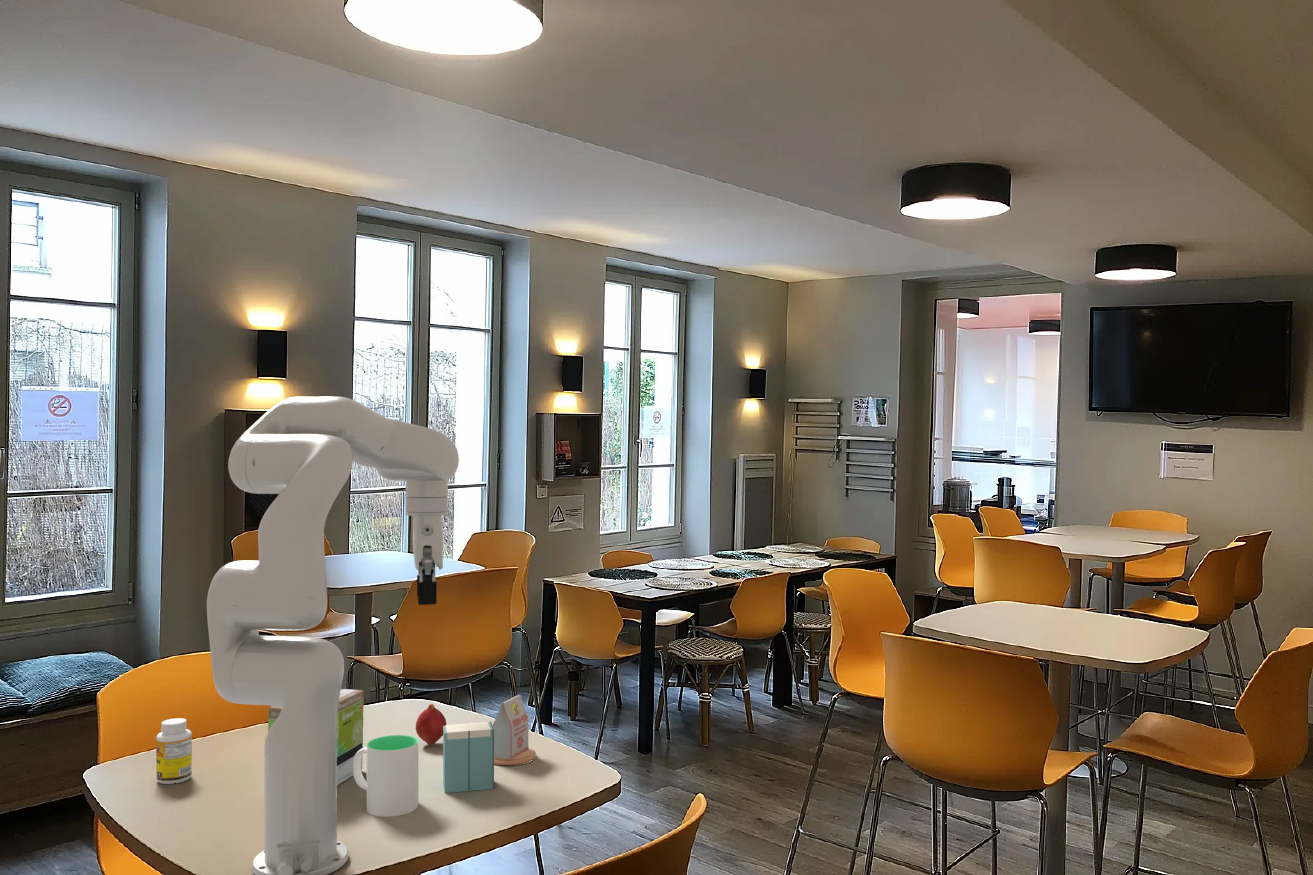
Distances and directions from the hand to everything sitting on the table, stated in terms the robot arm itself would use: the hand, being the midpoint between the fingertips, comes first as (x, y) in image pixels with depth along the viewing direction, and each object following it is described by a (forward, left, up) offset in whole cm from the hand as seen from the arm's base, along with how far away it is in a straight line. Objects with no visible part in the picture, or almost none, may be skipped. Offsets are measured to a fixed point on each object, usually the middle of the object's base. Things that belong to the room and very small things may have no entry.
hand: (426, 600), depth 182 cm
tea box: (-6, +19, -30) cm, 36 cm away
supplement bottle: (+2, +43, -30) cm, 52 cm away
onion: (+10, -1, -30) cm, 32 cm away
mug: (-20, +8, -30) cm, 37 cm away
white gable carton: (-2, -15, -29) cm, 33 cm away
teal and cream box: (-15, -6, -30) cm, 34 cm away
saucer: (-2, -15, -30) cm, 33 cm away
